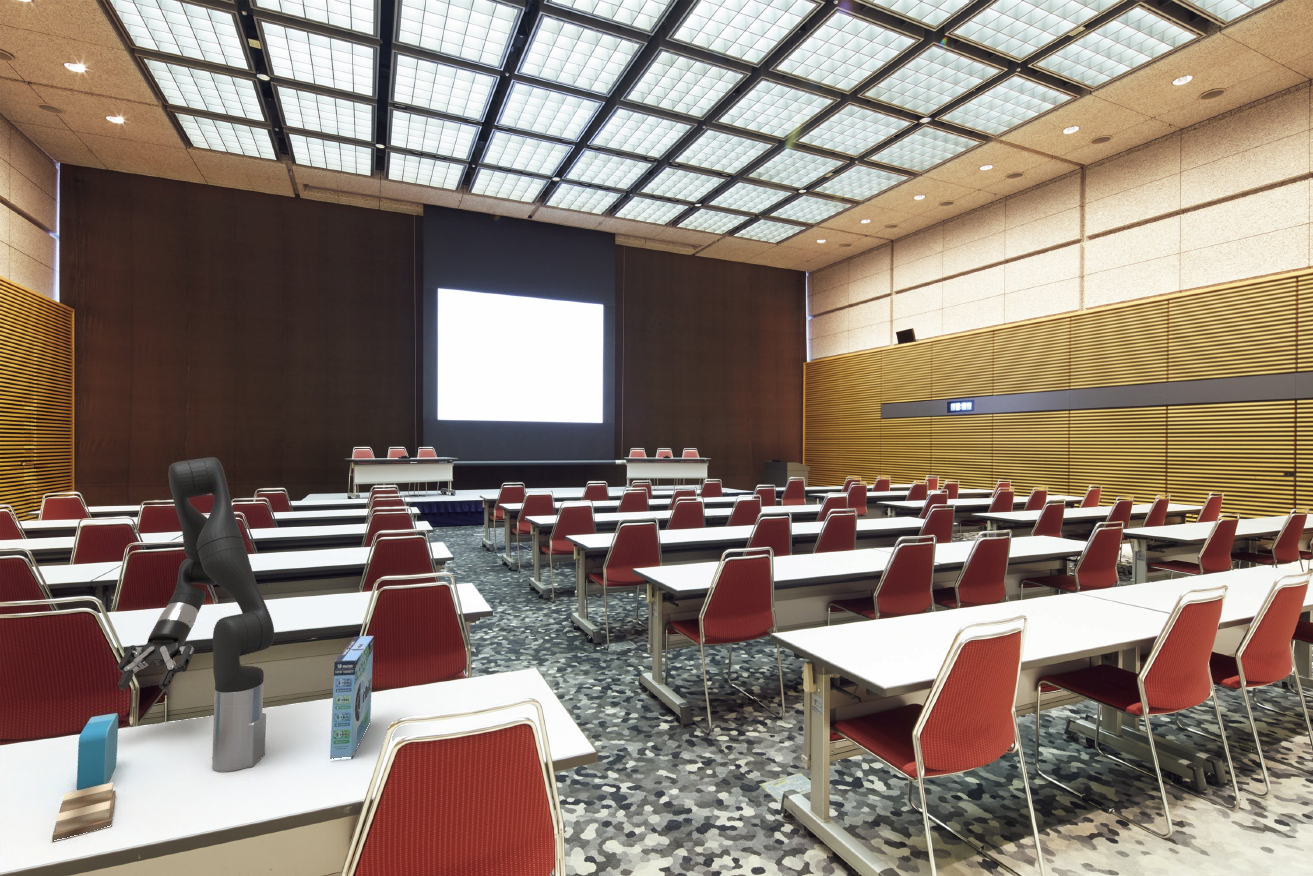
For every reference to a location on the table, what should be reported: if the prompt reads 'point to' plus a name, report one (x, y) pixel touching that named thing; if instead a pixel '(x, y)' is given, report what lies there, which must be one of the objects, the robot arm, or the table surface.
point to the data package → (97, 751)
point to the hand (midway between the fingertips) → (141, 688)
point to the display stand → (85, 811)
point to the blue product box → (351, 696)
